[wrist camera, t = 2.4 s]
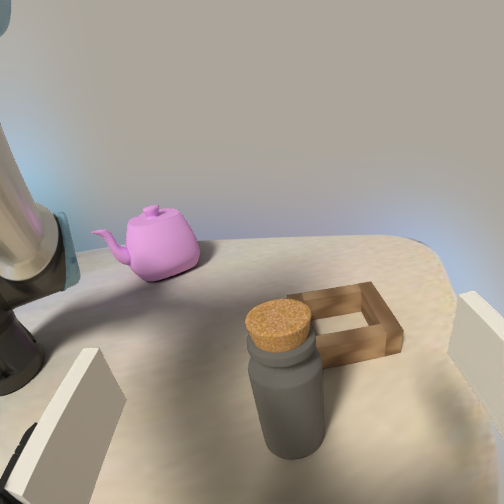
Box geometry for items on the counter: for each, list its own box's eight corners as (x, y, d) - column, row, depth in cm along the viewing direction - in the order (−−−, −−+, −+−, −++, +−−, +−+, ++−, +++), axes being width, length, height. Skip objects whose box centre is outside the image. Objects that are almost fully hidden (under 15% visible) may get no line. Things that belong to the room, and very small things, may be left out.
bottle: (275, 467, 25) (248, 351, 19) (258, 425, 30) (229, 306, 25) (333, 446, 26) (334, 323, 20) (310, 407, 31) (300, 286, 26)
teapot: (180, 245, 88) (168, 192, 83) (213, 266, 71) (199, 199, 66) (103, 273, 78) (86, 218, 73) (115, 304, 61) (92, 234, 55)
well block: (299, 372, 37) (297, 350, 35) (289, 314, 49) (286, 295, 47) (400, 352, 36) (403, 330, 35) (370, 301, 48) (370, 281, 47)
